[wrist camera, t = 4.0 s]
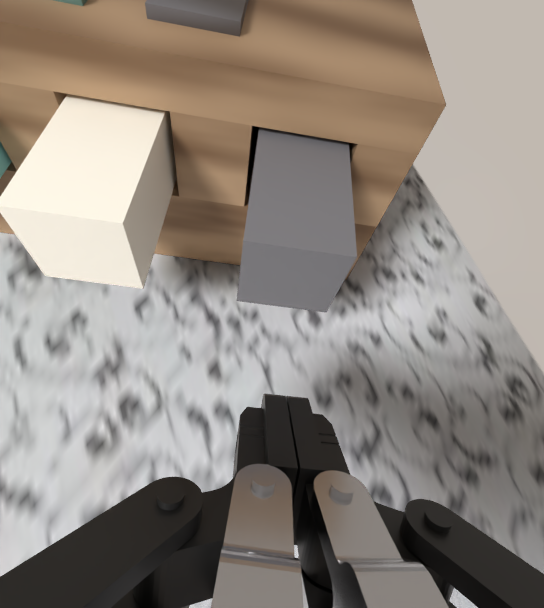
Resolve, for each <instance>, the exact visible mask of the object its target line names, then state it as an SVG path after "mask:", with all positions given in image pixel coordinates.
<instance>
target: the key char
mask: <svg viewBox="0 0 544 608" xmlns="http://www.w3.org/2000/svg"><path fill="white" fill-rule="evenodd" d="M356 258H357V249H356V235H355V222H354V208H353V194H352V180H351V167H350V153H349V142H344V141H338V140H332V139H326V138H321V137H315V136H309V135H303V134H297V133H292V132H286V131H280V130H274V129H269V128H263V127H259V132H258V139H257V147H256V154H255V161H254V168H253V175H252V182H251V189H250V196H249V204H248V211H247V218H246V225H245V232H244V239H243V248H242V257H241V266H240V276H239V285H238V294H237V301H242V302H250V303H258V304H265V305H273V306H281V307H289V308H296V309H304V310H312V311H320V312H327V310H328V308H329V306H330V305H331V303H332V301H333V299H334V298H335V296H336V294H337V292H338V290H339V289H340V287H341V285H342V283H343V282H344V280H345V278H346V276H347V274H348V273H349V271H350V269H351V267H352V265H353V264H354V262H355V260H356Z"/></svg>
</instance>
